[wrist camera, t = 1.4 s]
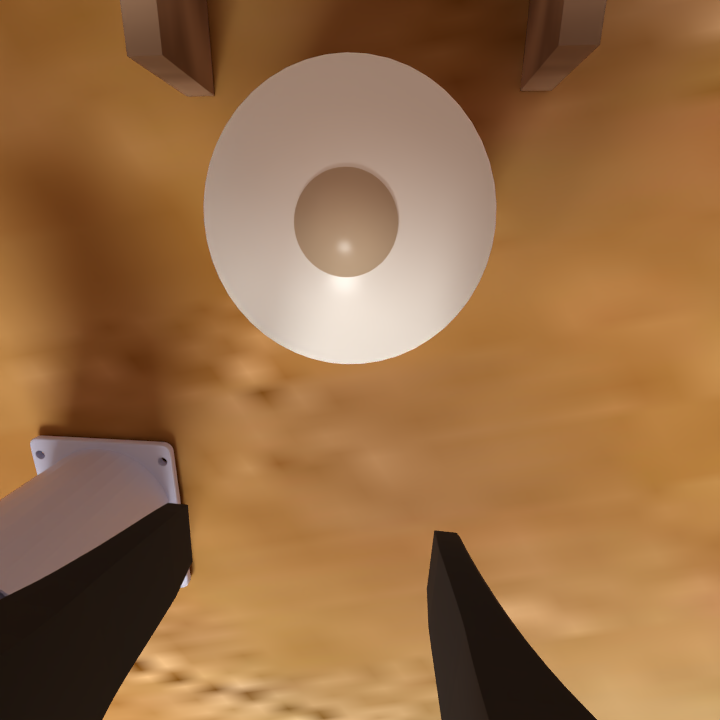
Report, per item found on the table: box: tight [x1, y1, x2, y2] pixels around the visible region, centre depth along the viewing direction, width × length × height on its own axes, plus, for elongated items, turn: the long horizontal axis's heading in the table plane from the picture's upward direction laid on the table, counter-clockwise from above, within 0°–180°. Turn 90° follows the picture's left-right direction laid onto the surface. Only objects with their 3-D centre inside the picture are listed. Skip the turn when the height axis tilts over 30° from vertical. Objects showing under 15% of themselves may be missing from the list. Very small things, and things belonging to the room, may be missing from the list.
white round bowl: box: [204, 52, 496, 364], centre depth 15 cm, size 9×9×6 cm
